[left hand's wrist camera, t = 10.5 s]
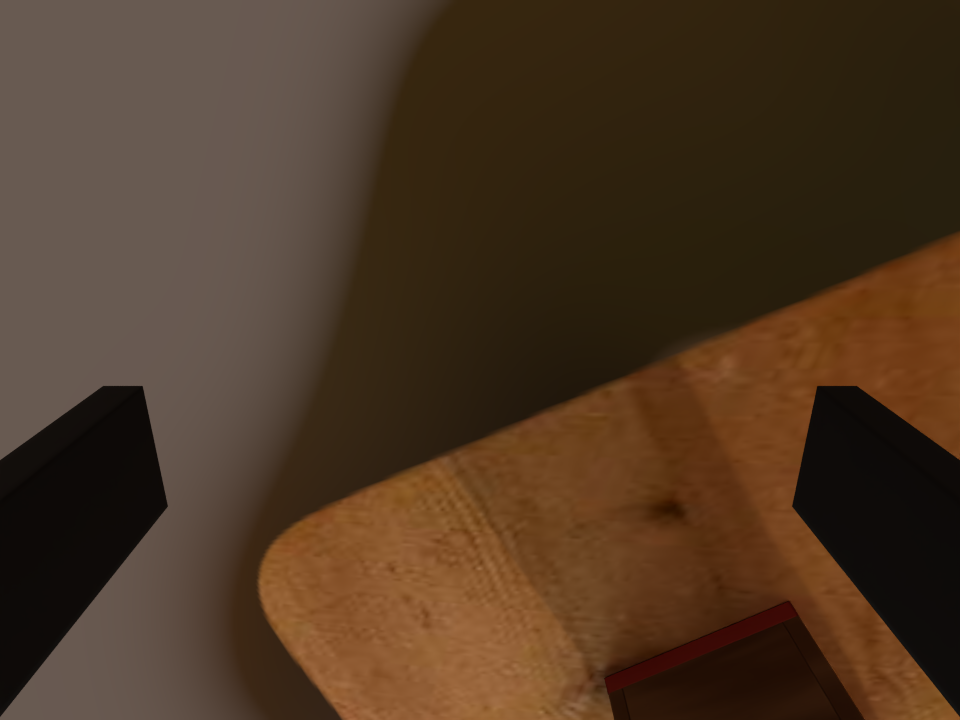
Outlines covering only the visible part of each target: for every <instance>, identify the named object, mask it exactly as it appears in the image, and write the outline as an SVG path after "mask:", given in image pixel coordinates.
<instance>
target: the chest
mask: <svg viewBox="0 0 960 720" xmlns="http://www.w3.org/2000/svg"><path fill="white" fill-rule="evenodd" d="M605 683H606V687H607V692H608V695H609V698H610V702H611V707H612V711H613V716H614V720H864V718H863V716H862V715H861V713H860V712H859V710H858V708H857V707H856V705H855V704H854V702H853V701H852V699H851V697H850V696H849V694H848V693H847V691H846V690H845V688H844V686H843V685H842V683H841V682H840V680H839V679H838V677H837V675H836V674H835V672H834V671H833V669H832V668H831V666H830V664H829V663H828V661H827V660H826V658H825V657H824V655H823V653H822V652H821V650H820V649H819V647H818V645H817V644H816V642H815V641H814V639H813V638H812V636H811V634H810V633H809V631H808V630H807V628H806V627H805V625H804V623H803V622H802V620H801V619H800V617H799V615H798V613H797V612H796V610H795V609H794V607H793V606H792V604H791V602H790V601H789V602H786V603H784V604H781V605H779V606H777V607H774V608H772V609H769V610H767V611H765V612H762V613H760V614H758V615H755V616H753V617H750V618H748V619H746V620H743V621H741V622H738V623H736V624H734V625H731V626H729V627H726V628H724V629H722V630H719V631H717V632H714V633H712V634H710V635H707V636H705V637H702V638H700V639H698V640H695V641H693V642H690V643H688V644H686V645H683V646H681V647H678V648H676V649H674V650H671V651H669V652H666V653H664V654H662V655H659V656H657V657H654V658H652V659H650V660H647V661H645V662H642V663H640V664H638V665H635V666H633V667H630V668H628V669H626V670H623V671H621V672H618V673H616V674H614V675H611V676H609V677H606V678H605Z"/></svg>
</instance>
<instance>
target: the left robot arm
mask: <svg viewBox="0 0 960 720" xmlns="http://www.w3.org/2000/svg"><path fill="white" fill-rule="evenodd" d="M167 507H168V505H167V500H166V495H165V491H164V486H163V481H162V476H161V472H160V467H159V462H158V458H157V453H156V448H155V443H154V438H153V433H152V429H151V424H150V419H149V414H148V409H147V405H146V400H145V395H144V390H143V386H103V387H101V388H100V389H98V390H97V391H96V392H94V393H93V394H92V395H90V396H89V397H87V398H86V399H85V400H83V401H82V402H80V403H79V404H78V405H76V406H75V407H74V408H72V409H71V410H69V411H68V412H67V413H65V414H64V415H62V416H61V417H60V418H58V419H57V420H55V421H54V422H53V423H51V424H50V425H49V426H47V427H46V428H44V429H43V430H42V431H40V432H39V433H37V434H36V435H35V436H33V437H32V438H31V439H29V440H28V441H26V442H25V443H23V444H22V445H21V446H19V447H18V448H17V449H15V450H14V451H12V452H11V453H10V454H8V455H7V456H5V457H4V458H3V459H1V460H0V716H1V715H2V714H3V713H4V711H5V710H6V709H7V708H8V706H9V705H10V704H11V703H12V701H13V700H14V699H15V698H16V696H17V695H18V694H19V693H20V691H21V690H22V689H23V687H24V686H25V685H26V684H27V682H28V681H29V680H30V679H31V677H32V676H33V675H34V674H35V672H36V671H37V670H38V669H39V667H40V666H41V665H42V664H43V662H44V661H45V660H46V659H47V657H48V656H49V655H50V654H51V652H52V651H53V650H54V649H55V647H56V646H57V645H58V644H59V642H60V641H61V640H62V639H63V637H64V636H65V635H66V633H67V632H68V631H69V630H70V629H71V627H72V626H73V625H74V624H75V622H76V621H77V620H78V619H79V617H80V616H81V615H82V613H83V612H84V611H85V610H86V608H87V607H88V606H89V605H90V603H91V602H92V601H93V600H94V598H95V597H96V596H97V595H98V593H99V592H100V591H101V590H102V588H103V587H104V586H105V585H106V583H107V582H108V581H109V580H110V578H111V577H112V576H113V575H114V573H115V572H116V571H117V570H118V568H119V567H120V566H121V564H122V563H123V562H124V561H125V560H126V558H127V557H128V556H129V554H130V553H131V552H132V551H133V549H134V548H135V547H136V546H137V544H138V543H139V542H140V541H141V539H142V538H143V537H144V536H145V534H146V533H147V532H148V531H149V529H150V528H151V527H152V526H153V524H154V523H155V522H156V521H157V519H158V518H159V517H160V516H161V514H162V513H163V512H164V511H165V509H166V508H167ZM792 507H793V508H794V509H795V511H796V512H797V513H798V514H799V516H800V517H801V518H802V519H803V521H804V522H805V523H806V524H807V526H808V527H809V528H810V529H811V531H812V532H813V533H814V534H815V536H816V537H817V538H818V539H819V541H820V542H821V543H822V544H823V546H824V547H825V548H826V549H827V551H828V552H829V553H830V555H831V556H832V557H833V558H834V560H835V561H836V562H837V563H838V565H839V566H840V567H841V568H842V570H843V571H844V572H845V573H846V575H847V576H848V577H849V578H850V580H851V581H852V582H853V583H854V585H855V586H856V587H857V588H858V590H859V591H860V592H861V593H862V595H863V596H864V597H865V598H866V600H867V601H868V602H869V603H870V605H871V606H872V607H873V608H874V610H875V611H876V612H877V613H878V615H879V616H880V617H881V619H882V620H883V621H884V622H885V624H886V625H887V626H888V627H889V629H890V630H891V631H892V632H893V634H894V635H895V636H896V637H897V639H898V640H899V641H900V642H901V644H902V645H903V646H904V647H905V649H906V650H907V651H908V652H909V654H910V655H911V656H912V657H913V659H914V660H915V661H916V662H917V664H918V665H919V666H920V667H921V669H922V670H923V671H924V672H925V674H926V675H927V676H928V677H929V679H930V680H931V681H932V682H933V684H934V685H935V686H936V688H937V689H938V690H939V691H940V693H941V694H942V695H943V696H944V698H945V699H946V700H947V701H948V703H949V704H950V705H951V706H952V708H953V709H954V710H955V711H956V713H957V714H958V715H959V716H960V460H959V459H957V458H956V457H955V456H953V455H952V454H950V453H949V452H948V451H946V450H945V449H943V448H942V447H941V446H939V445H938V444H937V443H935V442H934V441H932V440H931V439H930V438H928V437H927V436H925V435H924V434H923V433H921V432H920V431H918V430H917V429H916V428H914V427H913V426H912V425H910V424H909V423H907V422H906V421H905V420H903V419H902V418H900V417H899V416H898V415H896V414H895V413H893V412H892V411H891V410H889V409H888V408H887V407H885V406H884V405H882V404H881V403H880V402H878V401H877V400H875V399H874V398H873V397H871V396H870V395H868V394H867V393H866V392H864V391H863V390H862V389H860V388H859V387H857V386H817V390H816V395H815V400H814V405H813V409H812V414H811V419H810V424H809V429H808V433H807V438H806V443H805V448H804V452H803V457H802V462H801V467H800V472H799V476H798V481H797V486H796V491H795V495H794V500H793V505H792Z"/></svg>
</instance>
